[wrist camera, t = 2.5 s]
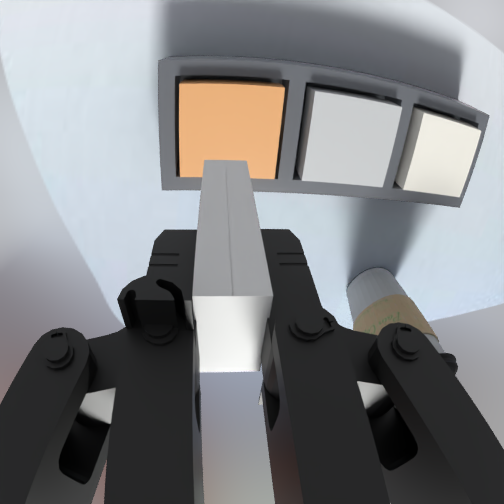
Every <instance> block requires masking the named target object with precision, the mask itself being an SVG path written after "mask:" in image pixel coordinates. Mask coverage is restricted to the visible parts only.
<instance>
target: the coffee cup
mask: <svg viewBox="0 0 504 504" xmlns="http://www.w3.org/2000/svg"><path fill="white" fill-rule="evenodd" d="M347 298H348V302H349V306H350V311H351V315H352V319H353V330H354V331H359V332H364V333H369V334H374V335H378V334H379V333H380V331H381V329H382V328H383V327H385V326H386V325H388V324H390V323H397V322H400V323H405V324H410V325H412V326H413V327H415V328H417V329H419V330H420V331H421V332H422V333H423V334H424V335H425V336H426V337H427V338H428V339H429V341H430V342H431V343H432V345H433V346H434V347H435V349H436V350H437V351H438V353H439V354H440V355H441V357H442V358H443V359H444V361H445V362H446V364H447V365H448V366H449V368H450V369H451V371H452V372H453V373H454V375H455V374H456V372H457V369H458V366H457V363H456V358H455V356H454V355H452V354H449V353H445V352H444V350H443V349H442V347H441V345H440V344H439V340H438V338H437V336H436V335H435V333H434V331H433V330H432V329H431V327H430V325H429V324H428V322H427V321H426V319H425V318H424V316H423V315H422V313H421V312H420V311H419V309H418V308H417V306H416V305H415V303H414V302H413V301H412V300H411V298H409V297H408V296H407V294H406V293H405V291H404V290H403V289H402V287H401V286H400V285H399V283H398V282H397V280H396V279H395V278H394V276H393V275H392V274H391V273H390V272H389V271H388V270H386V269H384V268H372V269H368V270H366V271H364V272H362V273H361V274H359V275H358V276H357V277H356V278H355V279H353V281H352V282H351V283H350V285H349V286H348V289H347Z"/></svg>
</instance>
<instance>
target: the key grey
mask: <svg viewBox="0 0 504 504" xmlns="http://www.w3.org/2000/svg"><path fill="white" fill-rule="evenodd" d="M401 111H402V107H401V106H399V105H397V104H395V103H393V102H391V101H389V100H385V99H380V98H376V97H371V96H366V95H361V94H355V93H350V92H344V91H338V90H332V89H325V88H318V87H311V86H307V92H306V99H305V107H304V114H303V122H302V129H301V136H300V143H299V150H298V157H297V164H296V170H297V172H298V174H299V176H300V178H301V180H302V181H314V182H328V183H341V184H352V185H363V186H373V187H383V184H384V180H385V177H386V173H387V169H388V165H389V162H390V158H391V154H392V150H393V146H394V142H395V138H396V133H397V129H398V125H399V120H400V116H401Z"/></svg>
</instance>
